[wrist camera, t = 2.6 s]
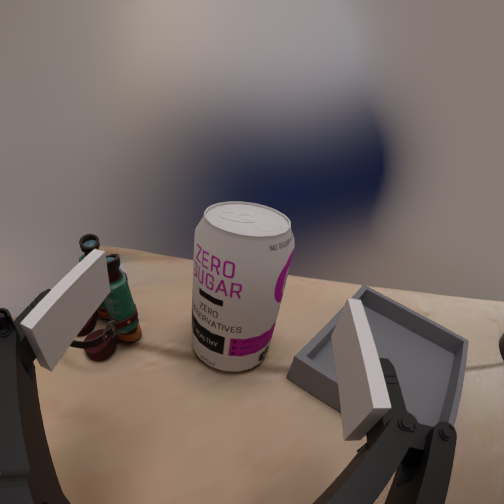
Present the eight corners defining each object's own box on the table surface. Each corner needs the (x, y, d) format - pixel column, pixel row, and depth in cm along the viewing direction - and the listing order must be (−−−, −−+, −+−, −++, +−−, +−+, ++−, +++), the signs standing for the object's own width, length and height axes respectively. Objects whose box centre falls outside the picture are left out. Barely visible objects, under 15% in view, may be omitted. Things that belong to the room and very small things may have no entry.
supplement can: (268, 327, 34) (296, 208, 26) (263, 382, 26) (300, 249, 19) (202, 315, 34) (210, 194, 27) (183, 366, 27) (182, 228, 19)
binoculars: (20, 260, 21) (99, 222, 28) (53, 333, 27) (116, 296, 34) (43, 309, 17) (142, 255, 24) (87, 384, 23) (158, 335, 29)
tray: (455, 358, 30) (468, 340, 29) (427, 460, 18) (448, 444, 16) (355, 303, 40) (363, 284, 38) (286, 377, 27) (294, 356, 25)
